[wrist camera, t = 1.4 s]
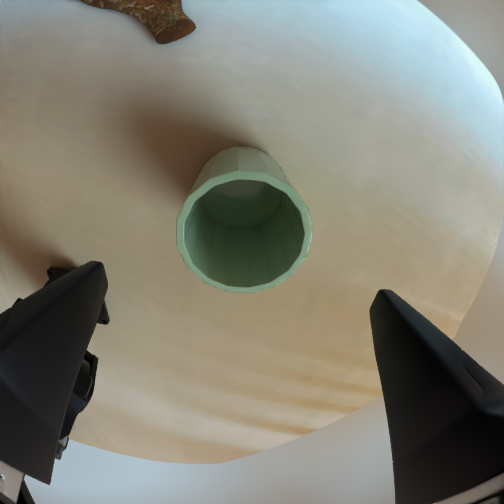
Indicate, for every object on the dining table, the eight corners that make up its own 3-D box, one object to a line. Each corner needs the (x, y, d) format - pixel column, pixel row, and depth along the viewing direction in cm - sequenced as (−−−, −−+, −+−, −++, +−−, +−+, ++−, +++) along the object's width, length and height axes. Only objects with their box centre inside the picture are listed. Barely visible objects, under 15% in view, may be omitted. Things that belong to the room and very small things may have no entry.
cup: (278, 233, 22) (296, 296, 15) (195, 226, 22) (177, 287, 15) (291, 152, 19) (324, 181, 12) (200, 142, 18) (177, 166, 11)
